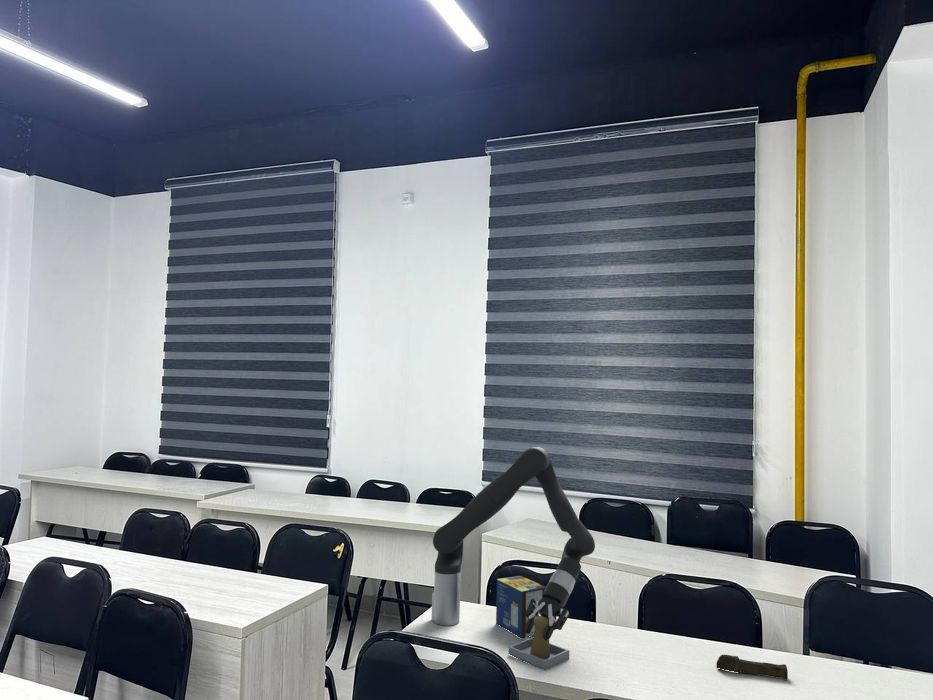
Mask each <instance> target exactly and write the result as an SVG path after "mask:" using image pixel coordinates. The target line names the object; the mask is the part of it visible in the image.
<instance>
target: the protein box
mask: <svg viewBox="0 0 933 700" xmlns="http://www.w3.org/2000/svg"><path fill="white" fill-rule="evenodd" d="M545 588H546V586H545V585H542V584H540V583H538V582H536V581H533V580H531V579H529V578H527V577H524V576H522V575H516V576H515V575H514V576H509V577H502V578H497V579H496V600H495V601H496V604H495V605H496V611H495V613H496V615H495V625H497V624H498V625H500V626H501V627H500V626H499V627H500V628H502V627H503V628H505V629H507V630H509V631H510V632H512V633H513V634H515V635H517V636H518V637H520V638H523V639H526V638H525V637H528V638H530V637H529V636H532V637H534V632H535V626H533V628H532V630H531V632H530V634H527V633H526V632H525V629H524V628H525V625H526V623H527V621H528V618H527V617H526V615H525V613H526V610H527V608H528V606H529V603H530V601H531V599H534V600H535V601H540V600H541V599H542V596H543V592H544V590H545ZM537 607H539V606H537ZM538 614H540V613H539V612H538ZM498 625H497V626H498ZM503 628H502V629H503ZM505 629H504V630H505ZM507 630H506V631H507ZM510 632H509V633H510ZM512 633H511V634H512ZM513 634H512V635H513ZM515 635H514V636H515ZM517 636H516V637H517ZM518 637H517V638H518ZM520 638H519V639H520Z"/></svg>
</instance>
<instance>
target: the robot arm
mask: <svg viewBox="0 0 933 700" xmlns="http://www.w3.org/2000/svg"><path fill="white" fill-rule="evenodd" d="M533 478H536V480H537V482H538V483H539V485H540V487H541V489H542V491H543V493H544V495H545V499H546V501H547V504H548V506H549V510H550V511H551V514H552V516H553V518H554V519H555V521H556V523H557V525H558V528H559V529H560V530H561V531H562V532H564V533H566V534H567V533H568V535H569V536H570V538H569V539H568V540H567V541H566V543H565V546H564V548H563V551H562V554H561V559H560V562H559V563H558V566H557V567H556V569H555V571H554V572H553V574H552V575H551V576H550V579H549V581H548V583H547V585H546V586H545V587H546V588H545V590H544V592H543V596H542V599H541V600H540V601H535V600H534V599H531V601H530V603H529V606H528V608H527V610H526V613H525V615H526V617H527V618H528V621H527V623H526V625H525V628H524V629H525V632H526V633H527V634H530V632H531V630H532V628H533V626H534V619H535V618H536V617H538V616H544V617H547V618H549V626H547V628H546V630H545V632H544V634H543V638H544V640H546V641H548V639H549V640H550V639H551V637H552V635H553V633H554V631H556V630H558V631H561V630H562V629H563V627H564V625H565V624H566V622H567V620H568V618H569V616H570V613H569V610H568V609H567V608H564V607H565V606H566V604H567V601H568V600H569V597H570V595H571V594H572V591H573V589H574V586H575V583H576V582H577V578H579V575H580V573H581V570H582V566H581V560H582V558H583V557H586V556H589V555H591V554H593V553H594V551H595V548H596V543H595V539H594V537H593V535H592V534H591V532H590V531H589V529H588V528H587V527H586V526H585V525H584V524H583V523H582V522H581V520H580V519H579V517H578V515H577V513H576V512H575V510H574V508H573V507H572V503H570V501H569V498H568V497H567V495H566V493H565V492H564V489H563V488H562V486H561V483H560V482H559V479H558V477H557V475H556V473H555V470H554V467H553V464H552V461H551V458H550V455H549V452H548V451H547V450H546V449H544V448H542V447H540V446H534V447H532V446H531V447H529V448H527V449H525V450H524V452H523V453H522V454H521V455H520V456H519V457H518V458H517V460H515V461H514V463H513V464H512V465H511V466H510V467H509V468H508V469H507V470H506V471H504V472H503V473H501V474H500V475H499V476H498V477H496V478H495V479H494V480H492V481H491V482H490V483H488V484H487V485H486V486H485V487H484V488H483V489H481V490H480V491H479V492H478V493H477V494H476V495H475V496H474V497H473V498H472V499H471V500H470V501H469V502H468V503H467V505H466V506H465V507H464V508H463V509H462V510H461V511H460V512H459V513H458V514H457V515H456V516H455V517H453V518H452V519H451V520H450V521H448V522H447V523H445V524H444V525H442V526H440V527H438V529H436V531H435V533H434V534H433V538H432V545H433V547H434V548H433V549H435V550H436V551H437V557H436V560H435V562H434V583H433V585H434V588H433V589H434V591H432V593H431V618H430V619H431V621H433V622H434V624H436V625H439V626H454V625H457V624H459V623H460V614H461V613H460V611H461V609H460V608H461V579H462V578H461V577H462V576H461V572H462V571H461V569H462V562H463V559H464V558H463V557H464V539H465V538H466V537H467V536H468V535H469V534H471V533H472V532H473V531H474V530H475V529H478V527H480V526H481V525H482V524H484V523H485V522H486V523H487V521H489V520H490V519H492V518H493V517H494V516H495V515H496V514H497V513H499V511H501V510H502V509H503V508H504V507H505V506H507V504H508V503H509V502H510V501H511V500H512V498H514V495H516V493H517V492H518V491H519V489H520V488H522V486H524V485H525V484H526V483H528V482H529V481H530V480H532V479H533ZM537 606H539V607H537ZM538 612H539V613H540V614H538Z"/></svg>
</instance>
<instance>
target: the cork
mask: <svg viewBox="0 0 933 700" xmlns="http://www.w3.org/2000/svg"><path fill="white" fill-rule="evenodd" d="M534 626H535V632H534V636H532V637H533V642H532V647H531V652H530V654H531V655H533V656H536V657H538V658H543V659H544V658H549V657H550V646H549V643H550V639H548V641H546V640H544V638H543V634H544V632H545V630H546V628H547V626H549V618H547V617H544V616H538V617H536V618H535V619H534Z"/></svg>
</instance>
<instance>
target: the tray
mask: <svg viewBox="0 0 933 700" xmlns="http://www.w3.org/2000/svg"><path fill="white" fill-rule="evenodd" d="M533 637H534V636H532V637H528V638H526V639H524V640H522V641H521V642H517V643H514V644H512V645H510V646H508V654H510V655H512V656H514V657H516V658H518V659H520V660H522V661H521V662H523V661H525V662H527V663H526V664H528V663H529V664H528V665H530V664H531V665H530V666H532V667H535V668H538V669H540V670H543V671H548V670H549V669H551V668H554V667H555V666H558V665H560V664H562V663H564V662H566V661H568V660H570V650H569V649H567V648H564V647H562V646H559V645H557V644H553V643H551V642H549V646H550V657H549V658H544V659H543V658H538V657H536V656H533V655H531V654H530V652H531V647H532V642H533ZM518 659H517V660H518ZM520 660H519V661H520ZM525 662H524V663H525Z"/></svg>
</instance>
